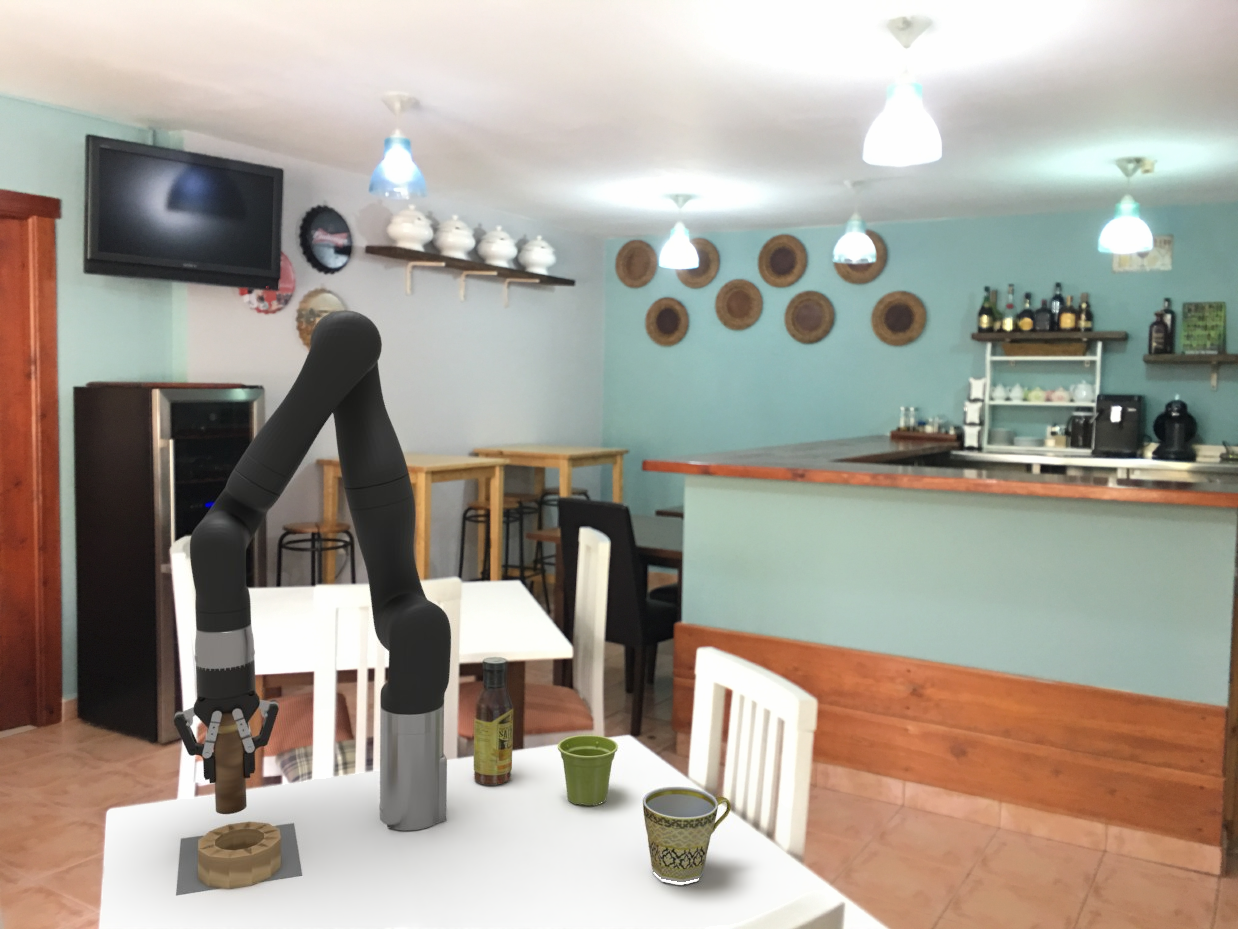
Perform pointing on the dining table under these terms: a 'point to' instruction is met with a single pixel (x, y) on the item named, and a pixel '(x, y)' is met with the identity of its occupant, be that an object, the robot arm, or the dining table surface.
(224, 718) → the banded wooden cylinder
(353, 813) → the dining table surface
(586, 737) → the plant pot
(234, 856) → the tan faceted ring
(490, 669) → the sauce bottle
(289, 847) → the mat
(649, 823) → the ceramic cup
